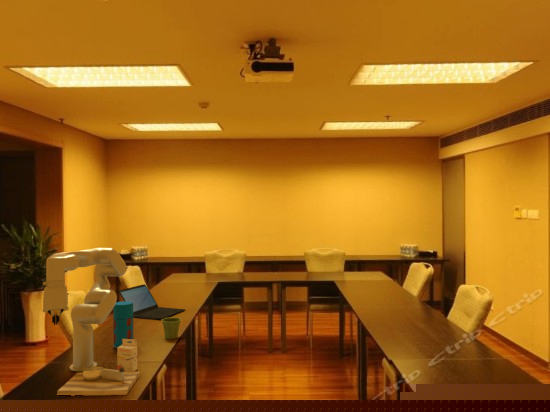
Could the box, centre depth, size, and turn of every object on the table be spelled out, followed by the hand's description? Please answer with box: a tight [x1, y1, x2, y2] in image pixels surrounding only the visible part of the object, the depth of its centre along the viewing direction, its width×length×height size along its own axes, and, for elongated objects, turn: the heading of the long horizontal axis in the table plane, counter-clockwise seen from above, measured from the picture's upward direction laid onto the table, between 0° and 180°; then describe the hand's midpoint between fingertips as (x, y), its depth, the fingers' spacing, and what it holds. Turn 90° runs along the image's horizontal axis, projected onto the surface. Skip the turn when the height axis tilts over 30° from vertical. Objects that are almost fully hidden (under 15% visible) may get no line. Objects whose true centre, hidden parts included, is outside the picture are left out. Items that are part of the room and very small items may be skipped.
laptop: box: [118, 283, 186, 321], centre depth 349 cm, size 33×38×19 cm
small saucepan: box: [82, 366, 124, 381], centre depth 209 cm, size 20×9×6 cm, turn 73°
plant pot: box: [161, 316, 182, 340], centre depth 282 cm, size 12×12×11 cm
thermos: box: [112, 300, 134, 350], centre depth 265 cm, size 11×11×25 cm
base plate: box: [56, 371, 141, 397], centre depth 207 cm, size 22×29×2 cm
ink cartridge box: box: [116, 339, 138, 372], centre depth 226 cm, size 9×5×15 cm, turn 77°
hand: (55, 324), depth 210 cm, fingers closed
